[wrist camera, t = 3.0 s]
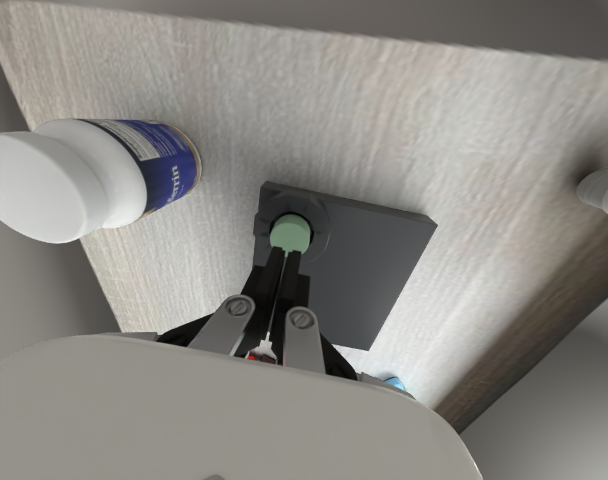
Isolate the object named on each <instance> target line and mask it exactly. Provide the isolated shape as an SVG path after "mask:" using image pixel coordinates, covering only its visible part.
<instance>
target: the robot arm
mask: <svg viewBox="0 0 608 480" xmlns="http://www.w3.org/2000/svg"><path fill="white" fill-rule="evenodd" d="M285 253H286V251H284V250H283V248H282V247H277V246H273V248H272V250H271V253H270V255H269V258H268V260H267V263H266V265H265V267H264V266H259V265H254V267H253V269H252V271H251V273H250V275H249V277H248V279H247V282H246V284H245V286H244V288H243V290H242V292H241V294H240V295H233V296H230V297H228V298H227V299H226V300H225V301H224V302H223V303H222V304H221V305H220V307H219V308H218V309H217V310H216V312H215V313H212V314H210V315H207V316H205V317H202V318H200V319H197V320H195V321H192V322H189V323H187V324H184V325H182V326H179V327H177V328H174V329H172V330H169V331H168V332H166V333H164V334H163V335H158V334H157V332H133V333H102V334H97V335H78V336H70V337H62V338H56V339H51V340H47V341H43V342H39V343H36V344H33V345H30V346H28V347H26V348H23V349H21V350H19V351H17V352H15V353H13V354H12V355H10V356H8V357H6V358H4V359H3V360H1V361H0V480H483V478H482V476H481V474H480V472H479V470H478V468H477V466H476V464H475V462H474V460H473V459H472V457H471V455H470V453H469V451H468V450H467V448H466V446H465V445H464V443H463V442H462V440H461V438H460V437H459V435H458V434H457V433H456V432H455V430H454V429H453V428H452V427H451V426H450V425H449V424H448V423H447V422H446V421H445V420H444V419H443V418H442V417H441V416H439V415H438V414H437V413H436V412H434V411H433V410H431V409H430V408H428V407H427V406H425V405H423V404H422V403H420V402H418V401H417V400H416V399H415V398H414V397H413V396H412V395H411V394H409V393H408V392H406V391H404V390H402V389H400V388H397V387H395V386H393V385H391V384H388V383H386V382H384V381H381V380H379V379H377V378H374V377H372V376H370V375H367V374H365V373H363V372H362V373H361V374H359V373H356V372H355V370H354V369H353V367H352V366H351V365H350V364H349V363H348V362H347V361H346V360H345V358H344V357H343V356H342V355H341V354H340V353H339V352H338V351H337V350H336V349H335V348H334V347H333V346H332V345H331V344H330V342H329V341H328V340H327V339H326V338H325V337H324V336H323V335H322V334H321V333H320V332H319V328H318V321H317V318H316V315H315V314H314V313H313V312H312V311H311V310H310V309H308V304H309V290H310V276H308V275H303V274H298V272H299V266H300V260H301V253H302V252H301V251H296V250H293V251H292V252H288V256H287V259H286V263H285V267H284V271H283V274H282V269H283V263H284V258H285ZM281 274H282V278H281ZM280 280H281V282H280ZM279 285H280V286H279ZM275 301H276V303H275ZM274 305H275V308H274ZM273 309H274V314H273V319H272V324H271V330H270V335H269V341H270V342H272V346H271V350H272V351H273V353H274V354H275V355H276V357H277V358H276V365H275V364H270V363H265V362H260V361H255V360H250V359H247V358H248V356H249V353H250V350H252V349H254V348H256V347H257V346H258V347H259V346H260V342H261V340H265V339H266V335H267V332H268V328H269V324H270V320H271V316H272V313H273Z"/></svg>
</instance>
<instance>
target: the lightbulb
mask: <svg viewBox="0 0 608 480" xmlns="http://www.w3.org/2000/svg"><path fill="white" fill-rule="evenodd" d="M576 196H577V198H578V199H579V200H580V201H582V202H584V203H587V204H589V205H592V206H594V207H597V208H601V209H603V210H604V212H605V213H607V214H608V168H605V169H601V170H598V171H595V172H593V173H591V174H589V175H588V176H586V177H585V178H584V179H583V180H582V181H581V182H580V184H579V185H578V187H577V189H576Z"/></svg>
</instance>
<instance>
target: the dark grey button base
mask: <svg viewBox="0 0 608 480" xmlns="http://www.w3.org/2000/svg"><path fill="white" fill-rule="evenodd" d="M289 214H293V215H297V216H300V217H302V218H303V219H304V220H305V221H306V222H307V223H308V225H309V227H310V240H309V246H308V248H307V250H306V251H305V252H304V253H303V254H301V260H300V266H299V272H298V274H303V275H308V276H310V290H309V304H308V309H310V310H311V311H312V312H313V313H314V314H315V315H316V318H317V321H318V328H319V332H320V333H321V334H322V335H323V336H324V337H325V338H326V339H327V340H328V341H329V342H330V344H335V345H340V346H345V347H350V348H355V349H361V350H366V351H369V349H370V348H371V346H372V344H373V342H374V340H375V339H376V337H377V335H378V333H379V331H380V330H381V328H382V326H383V324H384V322H385V320H386V319H387V317H388V315H389V313H390V311H391V310H392V308H393V306H394V304H395V302H396V300H397V299H398V297H399V295H400V293H401V291H402V290H403V288H404V286H405V284H406V282H407V281H408V279H409V277H410V275H411V273H412V271H413V270H414V268H415V266H416V264H417V262H418V261H419V259H420V257H421V255H422V253H423V251H424V250H425V248H426V246H427V244H428V242H429V241H430V239H431V237H432V235H433V233H434V232H435V230H436V228H437V226H438V225H437V224H436V223H435V222H434V221H433V220H431V219H430V218H429V217H428V216H425V215H420V214H416V213H411V212H407V211H402V210H397V209H393V208H388V207H383V206H379V205H374V204H370V203H365V202H360V201H356V200H351V199H346V198H342V197H337V196H333V195H328V194H323V193H319V192H314V191H309V190H305V189H300V188H296V187H291V186H286V185H282V184H277V183H272V182H268V181H266V182H265V183H264V184H263V185H262V186H261V188H260V198H259V208H258V212H257V214H256V215H255V221H254V231H253V234H254V236H255V248H254V257H253V267H254V265H259V266H264V267H265V265H266V263H267V260H268V258H269V255H270V253H271V250H272V246H271V243H270V234H271V231H272V229H273V227H274V225H275V223H276V221H277V220H278V219H279V218H280V217H282V216H284V215H289ZM286 259H287V257H285V258H284V263H283V269H282V274H283V271H284V267H285V263H286ZM253 267H252V269H253ZM282 274H281V278H282ZM280 282H281V280H280ZM279 286H280V285H279ZM275 303H276V301H275ZM274 308H275V305H274ZM273 314H274V309H273V313H272V316H271V320H270V324H269V328H268V332H270V330H271V324H272V319H273Z"/></svg>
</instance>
